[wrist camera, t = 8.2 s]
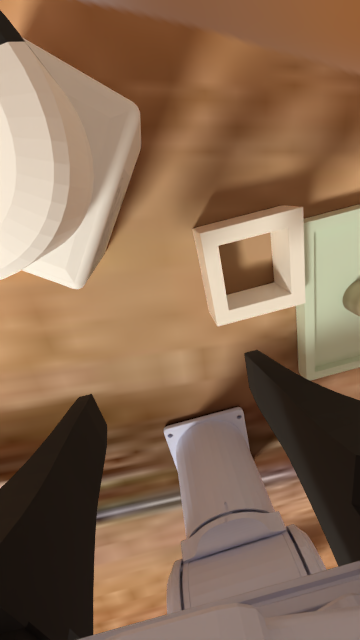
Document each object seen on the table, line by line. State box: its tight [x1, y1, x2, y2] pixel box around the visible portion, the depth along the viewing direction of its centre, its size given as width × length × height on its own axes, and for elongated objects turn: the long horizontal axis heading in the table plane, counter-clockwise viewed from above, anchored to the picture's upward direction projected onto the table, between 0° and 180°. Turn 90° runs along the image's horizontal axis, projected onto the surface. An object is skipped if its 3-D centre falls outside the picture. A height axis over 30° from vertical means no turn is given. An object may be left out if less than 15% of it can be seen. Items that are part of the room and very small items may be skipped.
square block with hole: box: [193, 205, 306, 326], centre depth 19 cm, size 7×7×3 cm
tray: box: [296, 204, 360, 381], centre depth 22 cm, size 14×10×1 cm
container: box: [0, 11, 141, 289], centre depth 11 cm, size 8×8×13 cm
